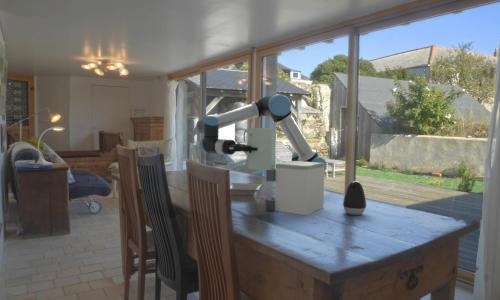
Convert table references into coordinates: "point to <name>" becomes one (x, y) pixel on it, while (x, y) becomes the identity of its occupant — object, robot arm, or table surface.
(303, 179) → the cabinet
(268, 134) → the sage door
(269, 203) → the clip hinges
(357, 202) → the black egg-shaped speaker
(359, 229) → the table surface
